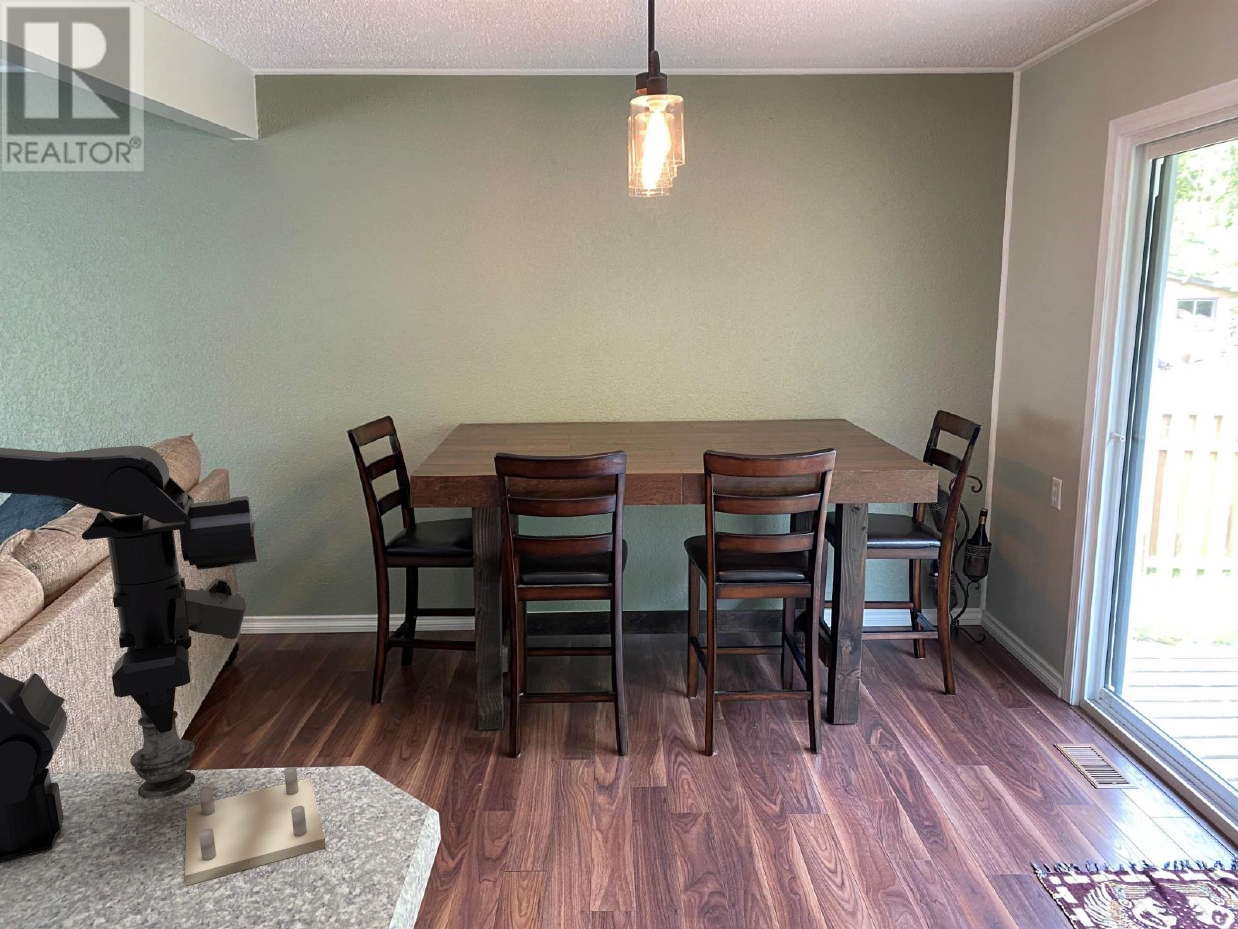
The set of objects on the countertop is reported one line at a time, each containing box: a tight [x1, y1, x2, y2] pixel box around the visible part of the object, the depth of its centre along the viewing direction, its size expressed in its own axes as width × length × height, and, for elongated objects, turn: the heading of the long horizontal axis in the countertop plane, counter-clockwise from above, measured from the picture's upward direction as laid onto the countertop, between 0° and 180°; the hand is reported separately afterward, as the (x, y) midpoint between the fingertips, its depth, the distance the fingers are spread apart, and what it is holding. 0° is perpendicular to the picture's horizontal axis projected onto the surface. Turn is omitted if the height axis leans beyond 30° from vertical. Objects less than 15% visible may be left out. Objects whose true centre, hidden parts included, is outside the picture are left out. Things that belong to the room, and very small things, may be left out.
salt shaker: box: [129, 706, 196, 800], centre depth 89 cm, size 6×6×12 cm
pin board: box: [184, 766, 326, 886], centre depth 86 cm, size 12×12×4 cm
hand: (166, 722), depth 89 cm, fingers closed on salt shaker, 4 cm apart
